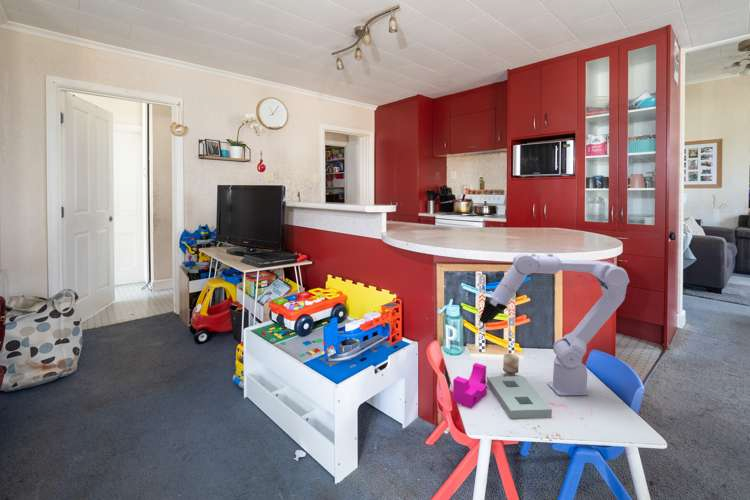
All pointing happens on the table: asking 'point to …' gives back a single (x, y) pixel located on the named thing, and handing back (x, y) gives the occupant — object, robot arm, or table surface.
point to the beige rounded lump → (510, 364)
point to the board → (518, 397)
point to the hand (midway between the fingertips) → (485, 320)
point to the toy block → (470, 387)
